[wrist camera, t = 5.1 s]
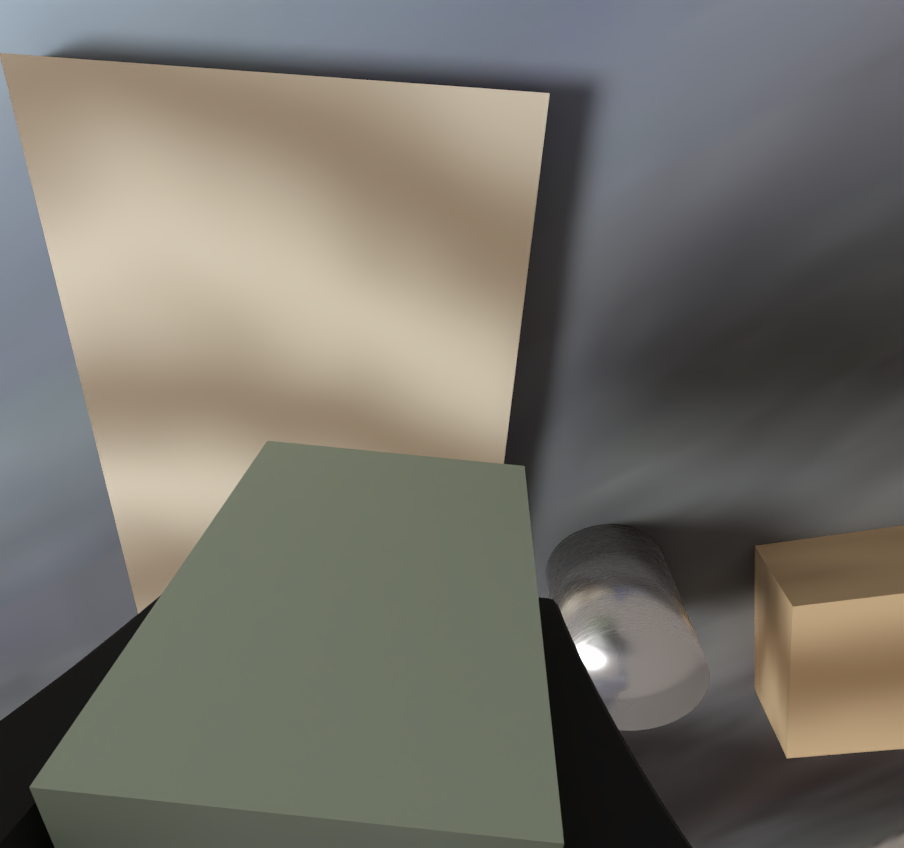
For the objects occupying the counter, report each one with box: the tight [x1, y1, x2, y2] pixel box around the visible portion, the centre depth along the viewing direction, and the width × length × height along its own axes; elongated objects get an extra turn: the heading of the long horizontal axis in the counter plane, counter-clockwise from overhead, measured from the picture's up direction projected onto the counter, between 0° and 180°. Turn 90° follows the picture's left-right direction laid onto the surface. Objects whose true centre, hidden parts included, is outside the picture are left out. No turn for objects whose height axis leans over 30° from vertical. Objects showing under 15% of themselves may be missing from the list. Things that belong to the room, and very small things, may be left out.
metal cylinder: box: [546, 524, 710, 731], centre depth 18 cm, size 4×4×4 cm
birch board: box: [0, 53, 550, 614], centre depth 17 cm, size 18×12×1 cm, turn 176°
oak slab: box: [755, 525, 904, 758], centre depth 19 cm, size 7×5×3 cm
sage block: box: [29, 441, 564, 848], centre depth 9 cm, size 4×4×6 cm
